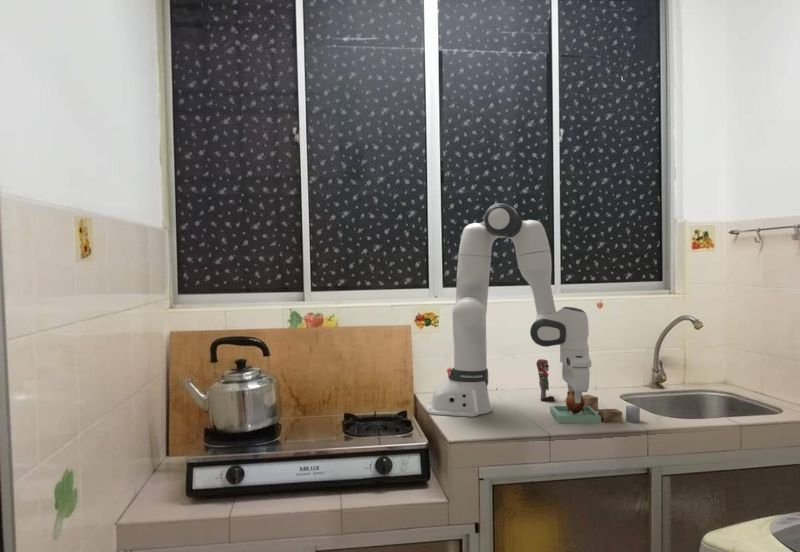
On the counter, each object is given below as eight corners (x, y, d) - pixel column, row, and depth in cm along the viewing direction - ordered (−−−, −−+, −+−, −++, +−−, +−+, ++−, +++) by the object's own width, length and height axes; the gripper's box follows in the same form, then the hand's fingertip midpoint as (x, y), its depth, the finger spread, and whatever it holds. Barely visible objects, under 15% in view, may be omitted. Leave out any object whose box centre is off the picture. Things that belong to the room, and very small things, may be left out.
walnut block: (603, 423, 169) (603, 412, 169) (598, 420, 173) (597, 409, 173) (622, 423, 169) (622, 412, 169) (616, 419, 173) (615, 408, 173)
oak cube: (587, 412, 182) (587, 398, 182) (578, 408, 186) (578, 395, 186) (598, 410, 184) (598, 397, 184) (588, 407, 188) (588, 394, 188)
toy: (556, 406, 189) (556, 363, 188) (537, 406, 190) (537, 363, 190) (552, 394, 206) (552, 355, 206) (535, 394, 207) (535, 355, 207)
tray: (558, 422, 170) (558, 416, 170) (550, 411, 183) (550, 405, 183) (601, 423, 169) (601, 416, 169) (589, 411, 182) (589, 405, 182)
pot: (584, 419, 172) (585, 412, 178) (583, 395, 171) (584, 388, 177) (565, 418, 174) (566, 411, 180) (564, 394, 173) (565, 388, 179)
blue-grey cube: (628, 423, 169) (628, 408, 168) (624, 419, 173) (624, 405, 172) (641, 423, 168) (641, 408, 168) (637, 419, 172) (637, 405, 172)
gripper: (557, 352, 186) (557, 392, 186) (571, 362, 165) (572, 407, 166) (576, 352, 185) (576, 392, 186) (593, 362, 165) (593, 408, 165)
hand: (574, 399), depth 176 cm, fingers open, 6 cm apart
